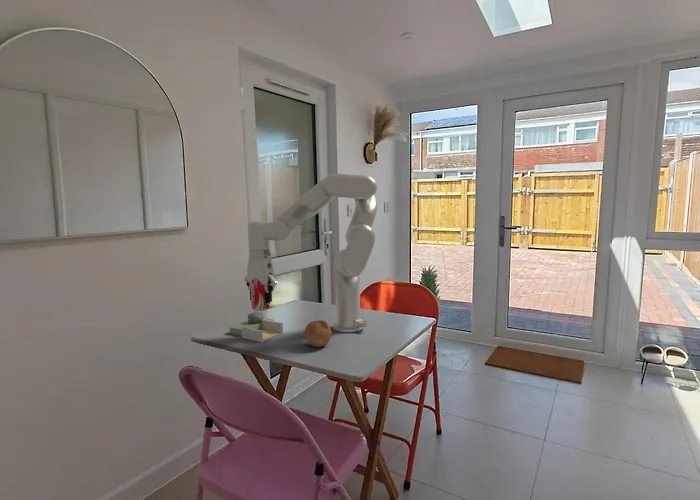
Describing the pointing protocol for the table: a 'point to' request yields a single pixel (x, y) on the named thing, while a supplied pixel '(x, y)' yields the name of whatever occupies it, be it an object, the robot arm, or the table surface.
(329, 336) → the onion
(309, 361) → the table surface
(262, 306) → the soda can
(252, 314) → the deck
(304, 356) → the table surface
